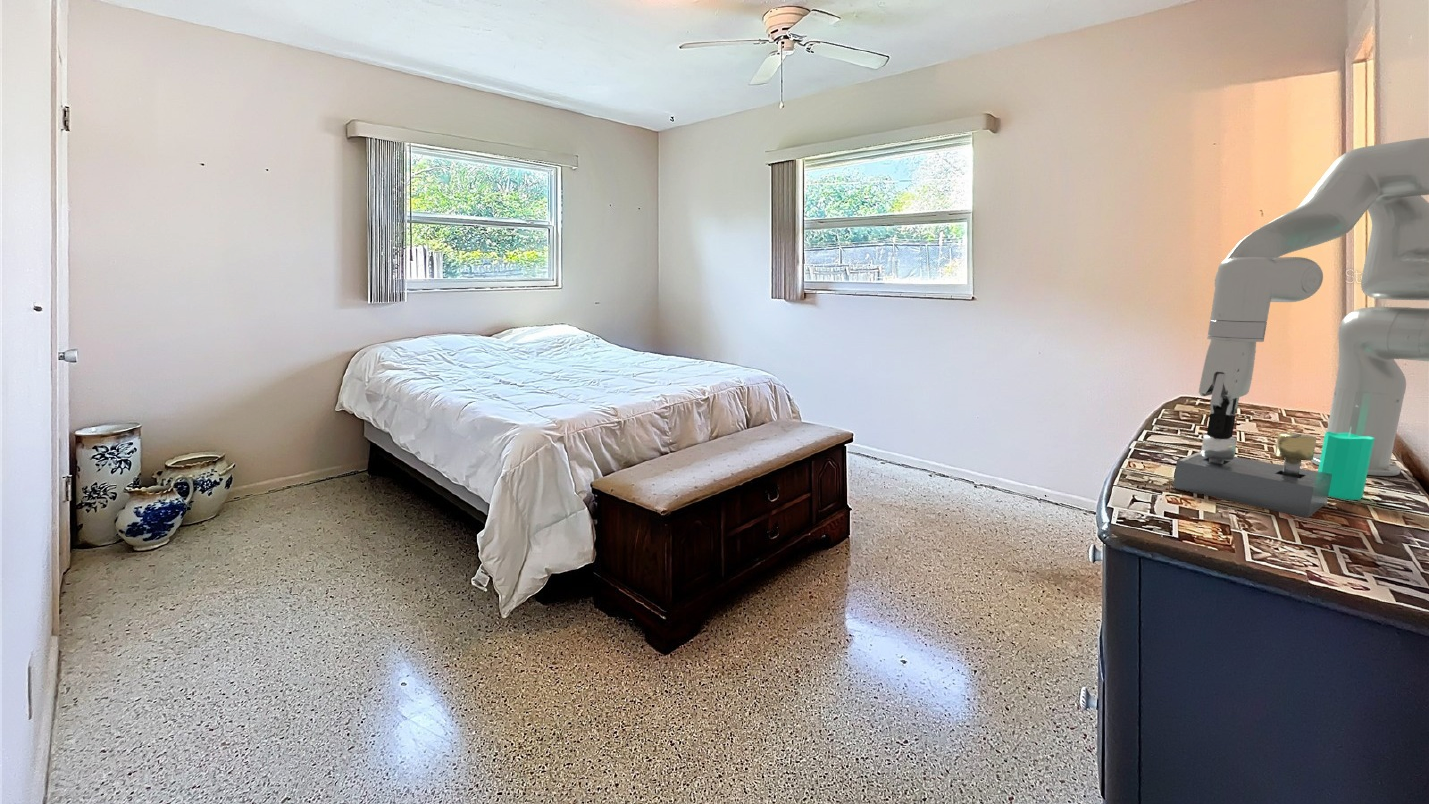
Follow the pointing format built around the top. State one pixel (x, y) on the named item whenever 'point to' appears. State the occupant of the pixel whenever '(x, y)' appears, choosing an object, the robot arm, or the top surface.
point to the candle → (1346, 463)
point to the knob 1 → (1218, 448)
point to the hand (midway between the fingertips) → (1219, 436)
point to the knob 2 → (1294, 451)
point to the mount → (1254, 484)
